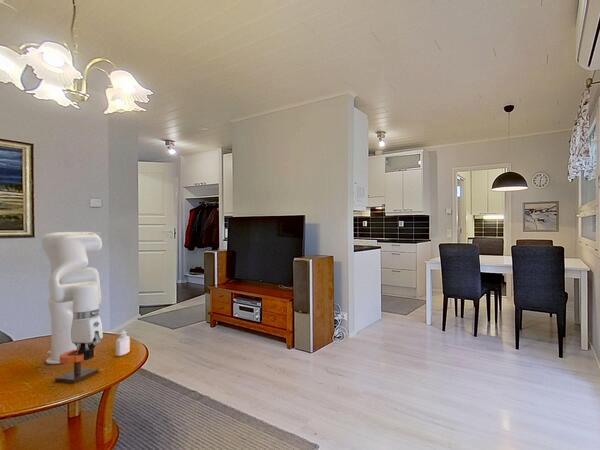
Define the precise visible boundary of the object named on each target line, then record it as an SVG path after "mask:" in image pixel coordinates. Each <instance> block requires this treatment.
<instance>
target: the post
mask: <svg viewBox="0 0 600 450" xmlns="http://www.w3.org/2000/svg"><path fill="white" fill-rule="evenodd" d="M74 355H78V353H75V354H74ZM99 371H100V370H99V369H98V368H91V367H90V368H89V367H82V361H79V362H75V363H73V370H71V371H69V372H67V373H64V374H61V375H59V376H56V377H55V378H54V382H55V383H65V384H66V383H67V384H76V383H78V382H81V381H83V380H85V379H87V378H89V377H92V376H94V375H96V374H98V373H99Z"/></svg>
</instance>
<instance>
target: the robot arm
mask: <svg viewBox="0 0 600 450" xmlns="http://www.w3.org/2000/svg"><path fill="white" fill-rule="evenodd" d="M41 248H42V250H43V253H44V254H45V255H46V257H47V259H48V261H49V265H50V266H49V267H50V277H49V280H48V289H49V295H50V297H49V298H48V302H47V303H48V308H49V313H50V333H51V334H50V336H51V338H50V341H51V343H50V345H51V346H50V350H48V351H46V355H49V357H48V358H47V359H46V360H45V363H46V364H47V365H48V364H49V365H59V364H61V363H60V355H62V354H63V353H66V352H68V351H72V350H76V349H77V350H78V355H79V354H83V353H84V360H83V361H88V360H91V359H93V358H95V355H94V348H95V349H96V346H97V345H100V344H101V340H103V337H104V335H103V333H104V332H103V323H102V319H101V316H100V314H99V313H100V305H101V303H102V300H103V299H102V298H103V297H102V288H101V279H100V273H99V271H98V269H97V268H96V267H90V266H89V267H87V266H88V265H89V258H88V253H98V252H100V251H101V250H102V248H103V240H102V238H101V237H100V235H98V234H97V233H95V232H92V231H58V232H57V231H55V232H49V233H47V234H44V235H42V238H41Z"/></svg>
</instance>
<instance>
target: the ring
mask: <svg viewBox="0 0 600 450" xmlns="http://www.w3.org/2000/svg"><path fill="white" fill-rule="evenodd" d="M75 353H78V350H77V349H76V350H72V351H68V352H66V353H63V354H62V355H60V363H59V364H65V365H67V364H74V363H75V362H79V361H81V362H84V361H85V360H84V353H83V354H79V355H74V354H75ZM94 356H96V347H95V348H94Z"/></svg>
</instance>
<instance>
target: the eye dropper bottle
mask: <svg viewBox="0 0 600 450" xmlns="http://www.w3.org/2000/svg"><path fill="white" fill-rule="evenodd" d="M130 351H131V337H130V336H129V335H127V331H125V329H121V331H120V332H119V337H118V338H117V339H116V341H115V357H122V356H125V355H127V354H129V353H130Z"/></svg>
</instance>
